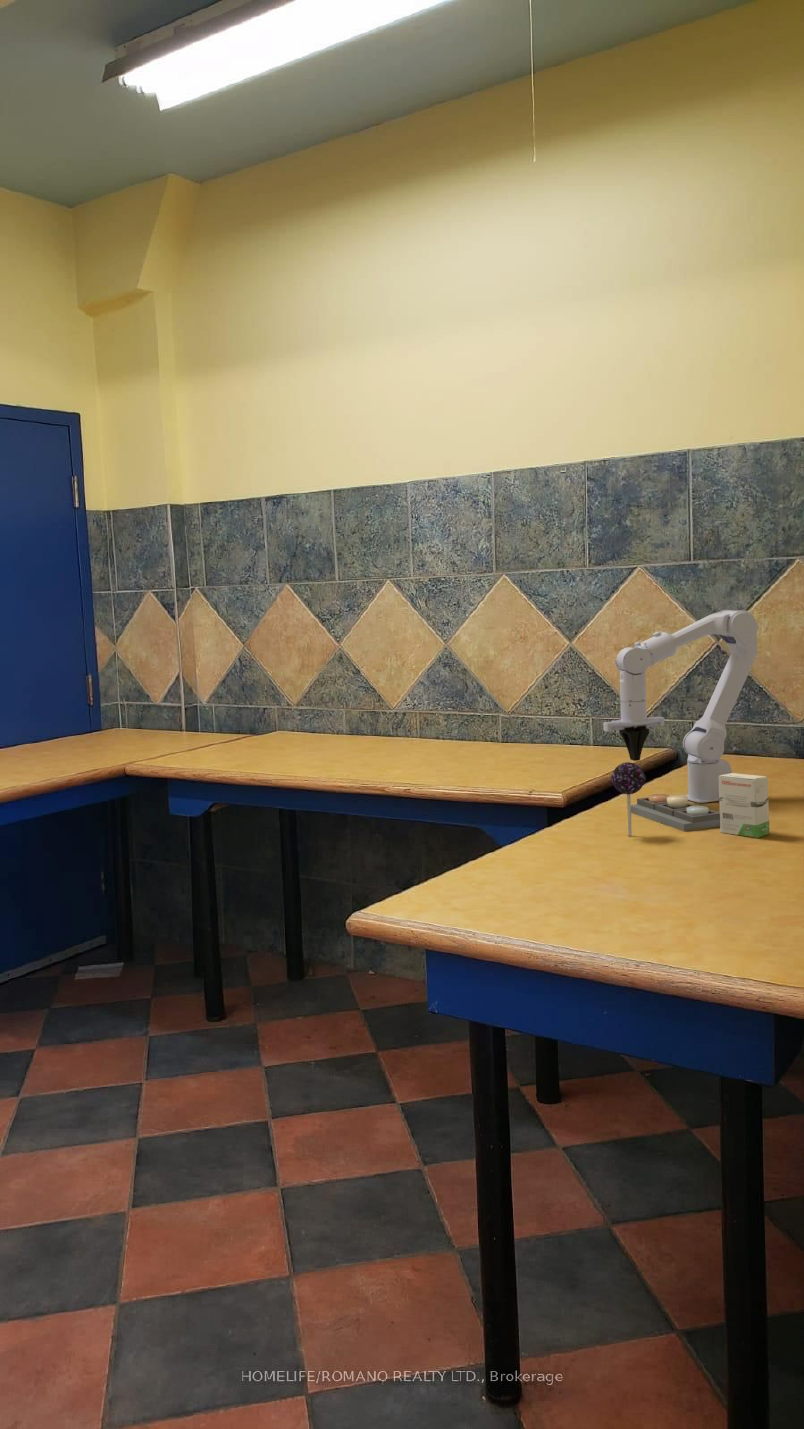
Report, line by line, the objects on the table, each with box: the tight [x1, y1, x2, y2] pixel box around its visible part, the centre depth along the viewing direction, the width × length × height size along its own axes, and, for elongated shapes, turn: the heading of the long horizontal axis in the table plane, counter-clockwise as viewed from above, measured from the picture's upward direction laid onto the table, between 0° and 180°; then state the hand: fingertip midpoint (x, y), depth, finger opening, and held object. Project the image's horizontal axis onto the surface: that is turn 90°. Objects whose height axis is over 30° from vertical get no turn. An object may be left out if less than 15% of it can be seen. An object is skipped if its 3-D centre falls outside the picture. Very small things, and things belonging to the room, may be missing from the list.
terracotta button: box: [648, 793, 670, 803], centre depth 239 cm, size 4×4×2 cm
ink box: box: [718, 772, 771, 839], centre depth 215 cm, size 9×5×12 cm, turn 39°
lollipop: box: [610, 761, 647, 837], centre depth 218 cm, size 7×7×15 cm
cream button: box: [667, 794, 689, 808], centre depth 231 cm, size 4×4×2 cm
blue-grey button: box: [687, 805, 710, 816], centre depth 224 cm, size 4×4×2 cm
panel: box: [631, 796, 720, 832], centre depth 232 cm, size 11×22×3 cm, turn 18°
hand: (635, 760), depth 246 cm, fingers closed
